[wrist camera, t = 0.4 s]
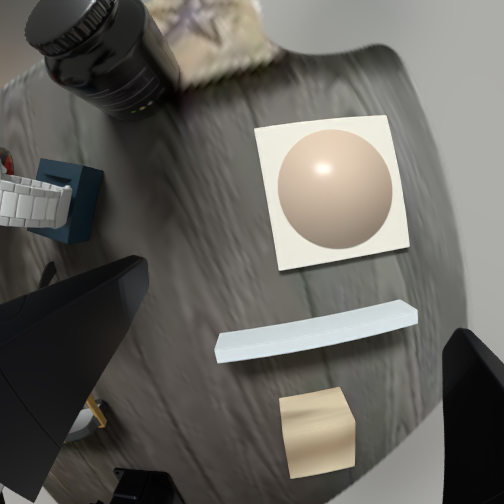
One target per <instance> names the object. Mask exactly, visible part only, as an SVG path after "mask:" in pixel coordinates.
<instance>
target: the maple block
mask: <svg viewBox="0 0 504 504" xmlns="http://www.w3.org/2000/svg"><path fill="white" fill-rule="evenodd" d="M279 401H280V411H281V421H282V431H283V438H284V444H285V450H286V455H287V461H288V467H289V472H290V478H291V479H293V478H299V477H305V476H311V475H316V474H321V473H326V472H331V471H336V470H340V469H344V468H349V467H353V466H355V420H354V417H353V415H352V413H351V411H350V409H349V406H348V404H347V402H346V400H345V397H344V395H343V393H342V391H341V389H340V387H337V388H332V389H327V390H322V391H318V392H312V393H307V394H302V395H296V396H290V397H284V398H279Z"/></svg>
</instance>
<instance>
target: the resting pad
mask: <svg viewBox="0 0 504 504" xmlns="http://www.w3.org/2000/svg"><path fill="white" fill-rule="evenodd" d="M254 132H255V137H256V142H257V148H258V153H259V159H260V164H261V170H262V175H263V181H264V186H265V192H266V198H267V203H268V209H269V215H270V221H271V226H272V232H273V238H274V244H275V250H276V256H277V262H278V268H279V271H281V270H287V269H293V268H298V267H304V266H310V265H315V264H321V263H326V262H332V261H337V260H343V259H348V258H354V257H359V256H364V255H370V254H375V253H380V252H385V251H391V250H396V249H401V248H406V247H410V246H409V236H408V228H407V220H406V212H405V205H404V199H403V193H402V187H401V181H400V175H399V170H398V165H397V160H396V155H395V150H394V146H393V141H392V137H391V133H390V129H389V125H388V121H387V117H386V115H383V116H363V117H348V118H336V119H325V120H315V121H306V122H298V123H290V124H282V125H275V126H268V127H262V128H256V129H254Z"/></svg>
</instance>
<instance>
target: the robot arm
mask: <svg viewBox="0 0 504 504" xmlns="http://www.w3.org/2000/svg"><path fill="white" fill-rule="evenodd" d="M148 286H149V276H148V262H147V260H146V259H145V258H144V257H140V256H136V255H131V256H128V257H125V258H123V259H120V260H117V261H114V262H111V263H109V264H106V265H103V266H100V267H98V268H95V269H92V270H89V271H87V272H84V273H81V274H78V275H76V276H73V277H70V278H68V279H65V280H62V281H60V282H57V283H54V284H52V285H49V286H47V287H44V288H41V289H39V290H36V291H34V292H31V293H29V294H28V295H23V296H21V297H18V298H16V299H13V300H11V301H8V302H5V303H3V304H0V504H5V501H4V497H3V493H2V489H3V488H4V486H6V487H7V488H9V489H10V490H12V491H14V492H15V493H17V494H19V495H20V496H22V497H24V498H26V499H27V500H29V501H31V502H33V503H34V502H35V500H36V498H37V496H38V494H39V492H40V490H41V488H42V485H43V483H44V481H45V479H46V477H47V475H48V473H49V471H50V469H51V467H52V465H53V463H54V461H55V459H56V457H57V455H58V453H59V451H60V449H61V448H60V447H62V445H63V443H64V441H65V439H66V437H67V435H68V433H69V432H70V430H71V428H72V426H73V424H74V422H75V420H76V419H77V417H78V415H79V413H80V411H81V409H82V408H83V406H84V404H85V402H86V401H87V399H88V397H89V395H90V393H91V392H92V390H93V388H94V386H95V385H96V383H97V381H98V380H99V378H100V376H101V374H102V373H103V371H104V369H105V368H106V366H107V364H108V363H109V361H110V359H111V358H112V356H113V354H114V353H115V351H116V349H117V348H118V346H119V344H120V343H121V341H122V340H123V338H124V336H125V334H126V333H127V331H128V329H129V327H130V325H131V323H132V321H133V319H134V316H135V314H136V312H137V310H138V308H139V306H140V304H141V302H142V300H143V298H144V296H145V294H146V292H147V290H148ZM442 373H443V391H442V393H443V416H444V445H445V446H444V447H445V460H444V465H445V466H444V488H443V503H442V504H504V364H503V362H501V360H500V359H499V358H498V357H497V356H496V355H495V354H494V353H493V352H492V351H491V350H490V349H489V348H488V347H487V346H486V345H485V344H484V343H483V342H482V341H481V340H480V339H479V338H478V337H477V336H476V335H475V334H474V333H473V332H472V331H471V330H469V329H465V328H457V329H456V330H455V331H454V333H453V334H452V336H451V337H450V339H449V341H448V342H447V344H446V345H445V347H444V349H443V352H442ZM113 472H114V474H115V476H116V477H117V479H118V480H119V483H118V485H117V487H116V489H115V491H114V493H113V498H112V500H111V502H110V504H184V502H183V501H182V499H181V497H180V495H179V493H178V492H177V490H176V488H175V486H174V484H173V482H172V480H171V479H170V477H169V475H168V474H167V473H166V472H158V471H144V470H133V469H123V468H115V469H114V470H113ZM90 504H92V503H90ZM96 504H104V503H103V502H102V501H100V500H98V501H97V503H96Z"/></svg>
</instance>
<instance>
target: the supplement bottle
mask: <svg viewBox="0 0 504 504" xmlns="http://www.w3.org/2000/svg"><path fill="white" fill-rule="evenodd" d="M25 37H26V41H27V42H29V44H30V45H31V46H32V47H34V48H35V49H37V50H39V52H40V53H41V54H42V55H44V62H45V67H46V70H47V73H48V75H49V76H50V78H51V79H52V80H53V81H54V82H55V83H57V84H58V85H59V86H61V87H63V88H64V89H66V90H68V91H70V92H71V93H73V94H75V95H76V96H78V97H80V98H82V99H83V100H85V101H87V102H88V103H90V104H92V105H93V106H95V107H97V108H98V109H100V110H102V111H103V112H105V113H107V114H109V115H111V116H112V117H114V118H117V119H120V120H127V121H131V120H138V119H142V118H145V117H147V116H150V115H152V114H153V113H155V112H156V111H158V110H159V109H160V108H162V107H163V106H164V105H165V104H166V103H167V102H168V100H169V99H170V98H171V96H172V95H173V93H174V91H175V89H176V87H177V84H178V80H179V66H178V63H177V60H176V58H175V56H174V54H173V52H172V51H171V49H170V47H169V45H168V44H167V42H166V40H165V38H164V37H163V35H162V33H161V32H160V30H159V28H158V26H157V25H156V23H155V21H154V20H153V18H152V16H151V14H150V13H149V11H148V9H147V8H146V6H145V5H144V4H143V3H142V1H141V0H40V1H39V2H38V3H37V5H36V6H35V8H34V9H33V11H32V12H31V15H30V16H29V18H28V21H27V23H26V28H25Z"/></svg>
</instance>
